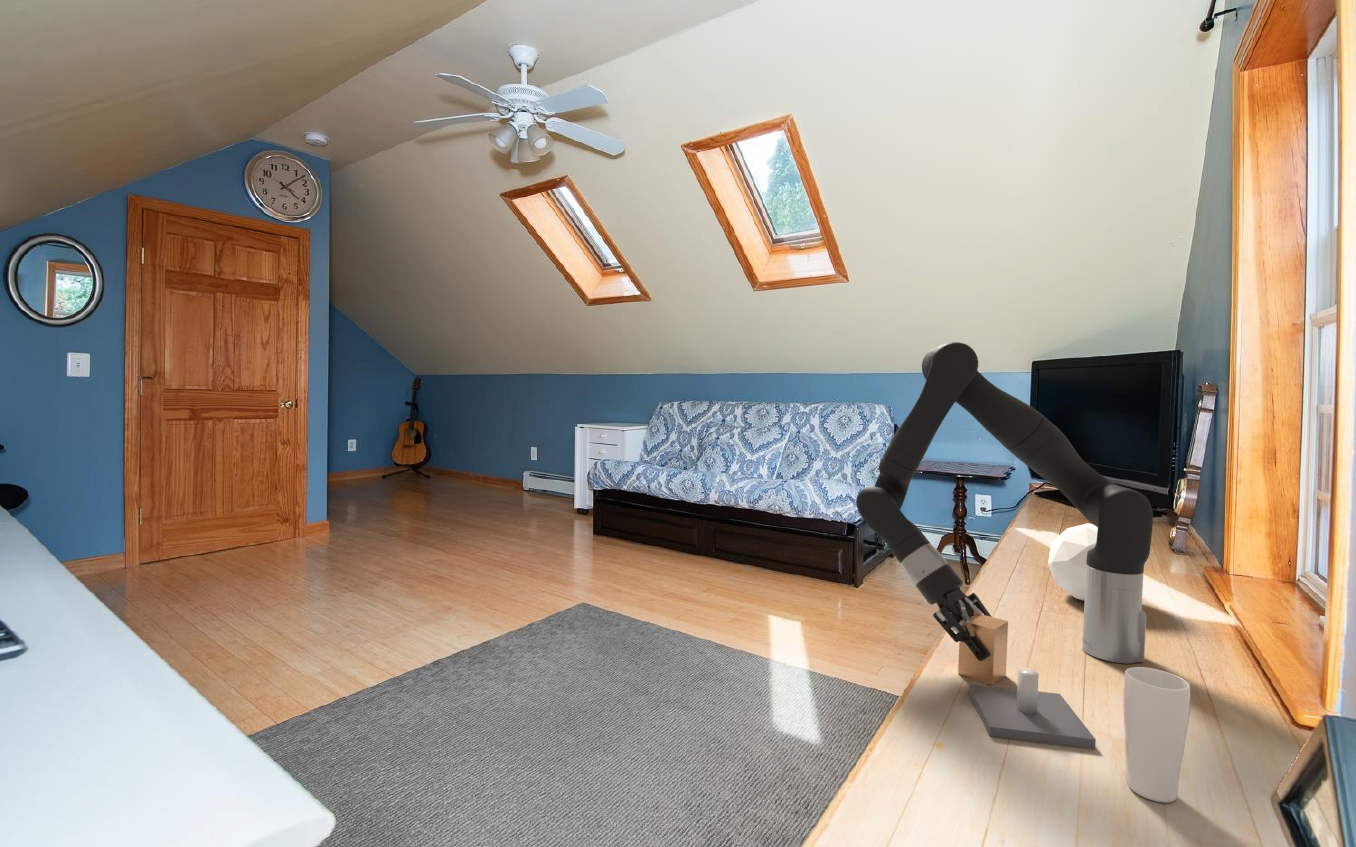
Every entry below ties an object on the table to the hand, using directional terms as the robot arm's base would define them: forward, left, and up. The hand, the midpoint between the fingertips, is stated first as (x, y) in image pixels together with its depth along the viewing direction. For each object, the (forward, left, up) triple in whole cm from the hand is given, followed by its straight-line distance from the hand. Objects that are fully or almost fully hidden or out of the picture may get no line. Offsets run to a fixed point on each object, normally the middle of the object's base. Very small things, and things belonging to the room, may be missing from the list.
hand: (992, 653), depth 112 cm
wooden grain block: (+1, -1, -4) cm, 5 cm away
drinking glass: (-12, +30, -5) cm, 33 cm away
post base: (-2, +14, -4) cm, 15 cm away
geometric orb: (-36, -52, -5) cm, 63 cm away
